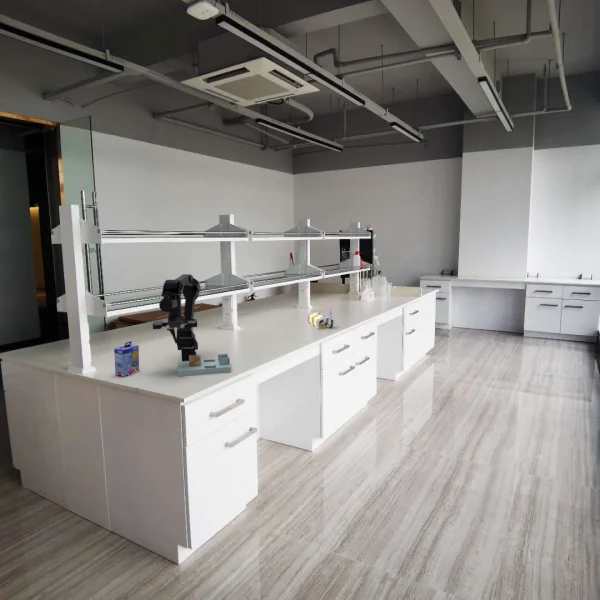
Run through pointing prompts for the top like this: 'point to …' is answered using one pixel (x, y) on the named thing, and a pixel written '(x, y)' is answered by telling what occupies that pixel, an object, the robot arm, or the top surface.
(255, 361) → the top surface
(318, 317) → the diorama
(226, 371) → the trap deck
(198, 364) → the walnut block
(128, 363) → the ink cartridge box
